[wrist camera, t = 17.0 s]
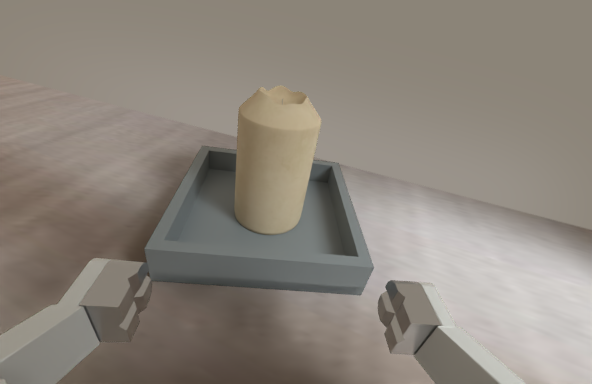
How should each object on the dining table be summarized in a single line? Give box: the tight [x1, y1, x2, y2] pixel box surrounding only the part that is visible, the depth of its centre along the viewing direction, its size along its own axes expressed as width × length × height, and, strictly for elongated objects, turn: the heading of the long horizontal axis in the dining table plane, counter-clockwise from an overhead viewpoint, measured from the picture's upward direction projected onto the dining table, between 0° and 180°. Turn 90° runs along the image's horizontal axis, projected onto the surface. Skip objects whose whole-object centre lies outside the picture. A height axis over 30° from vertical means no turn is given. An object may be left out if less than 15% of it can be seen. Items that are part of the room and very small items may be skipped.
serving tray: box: [144, 146, 374, 295], centre depth 23 cm, size 14×14×3 cm
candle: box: [234, 86, 321, 235], centre depth 20 cm, size 6×6×10 cm
